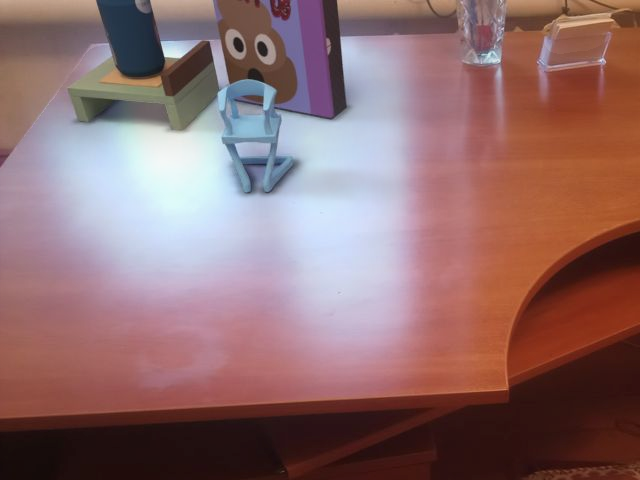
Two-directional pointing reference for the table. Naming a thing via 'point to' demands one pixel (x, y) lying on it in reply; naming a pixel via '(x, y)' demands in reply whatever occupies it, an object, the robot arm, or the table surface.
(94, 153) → the table surface
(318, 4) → the cereal box
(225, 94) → the chair
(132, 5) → the soda can
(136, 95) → the shelf
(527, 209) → the table surface
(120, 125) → the table surface
